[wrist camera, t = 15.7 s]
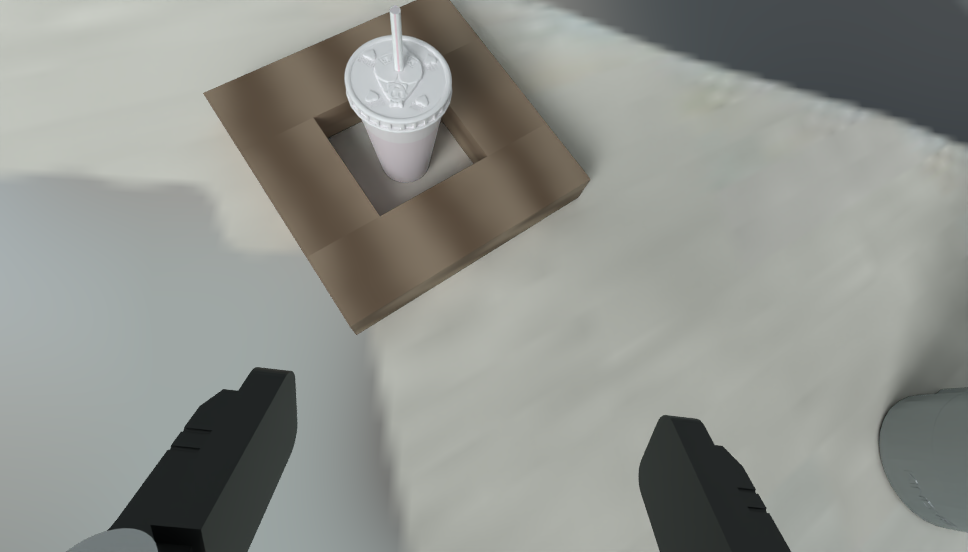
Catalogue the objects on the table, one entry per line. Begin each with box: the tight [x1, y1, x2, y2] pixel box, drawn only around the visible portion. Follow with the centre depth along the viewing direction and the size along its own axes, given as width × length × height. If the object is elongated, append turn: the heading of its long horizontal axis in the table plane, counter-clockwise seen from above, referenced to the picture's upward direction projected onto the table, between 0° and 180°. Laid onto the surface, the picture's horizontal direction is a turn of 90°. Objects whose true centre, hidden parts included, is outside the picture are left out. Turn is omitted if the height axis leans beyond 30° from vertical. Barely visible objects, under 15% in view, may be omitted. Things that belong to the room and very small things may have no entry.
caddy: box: [203, 0, 590, 335], centre depth 37 cm, size 20×20×3 cm
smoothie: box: [345, 6, 452, 183], centre depth 31 cm, size 6×6×14 cm
